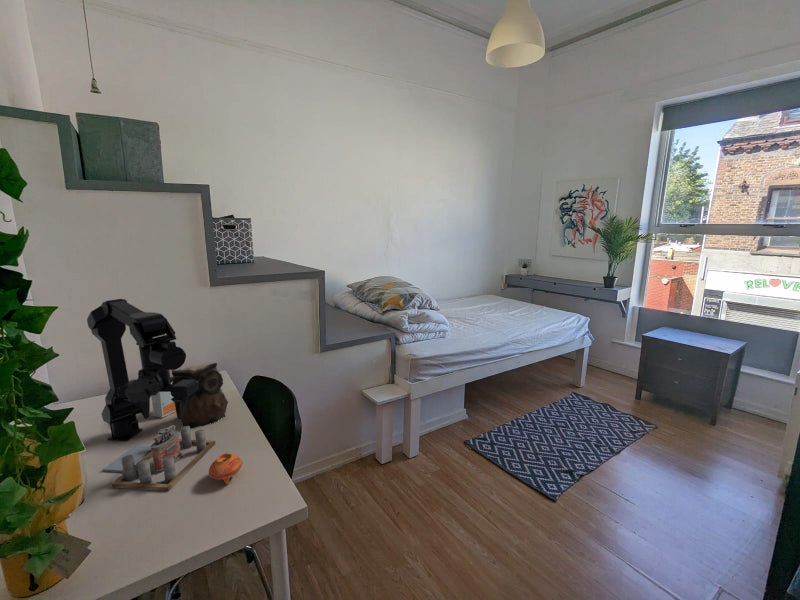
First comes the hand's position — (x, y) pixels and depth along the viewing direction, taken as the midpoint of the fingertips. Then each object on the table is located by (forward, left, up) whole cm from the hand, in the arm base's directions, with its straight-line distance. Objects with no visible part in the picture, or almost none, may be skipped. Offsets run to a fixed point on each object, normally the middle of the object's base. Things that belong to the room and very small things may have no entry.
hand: (163, 418), depth 98 cm
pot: (+19, -4, -14) cm, 24 cm away
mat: (-12, +1, -13) cm, 18 cm away
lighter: (0, 0, -14) cm, 14 cm away
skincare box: (-20, +26, -14) cm, 36 cm away
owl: (-5, +24, -14) cm, 28 cm away
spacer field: (0, 0, -13) cm, 13 cm away
